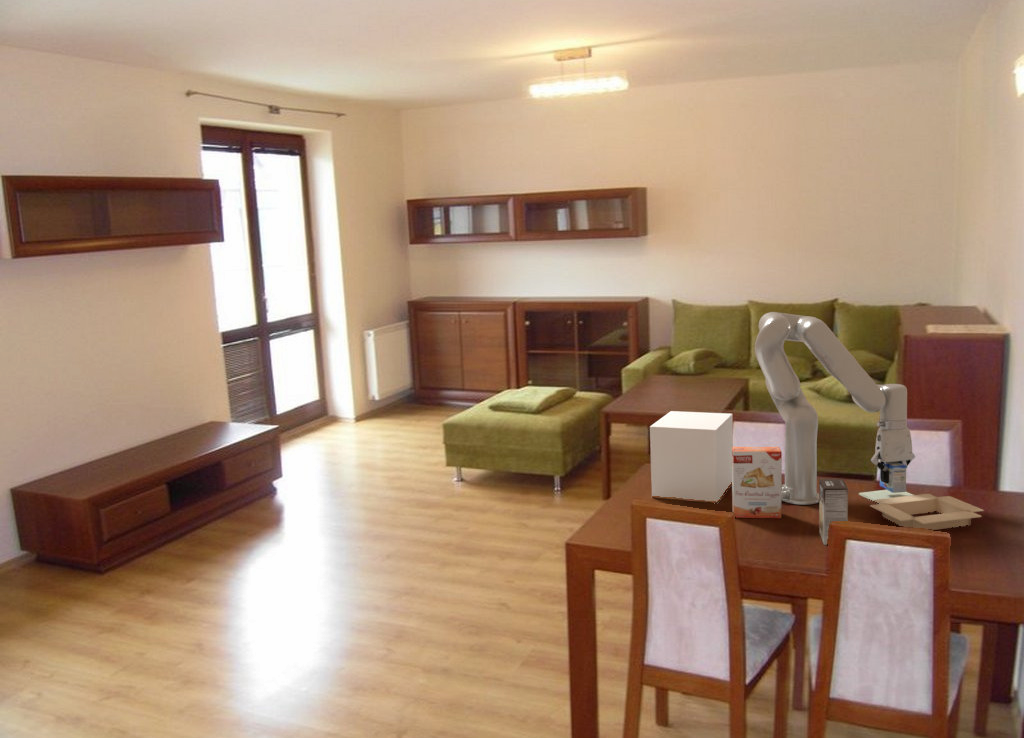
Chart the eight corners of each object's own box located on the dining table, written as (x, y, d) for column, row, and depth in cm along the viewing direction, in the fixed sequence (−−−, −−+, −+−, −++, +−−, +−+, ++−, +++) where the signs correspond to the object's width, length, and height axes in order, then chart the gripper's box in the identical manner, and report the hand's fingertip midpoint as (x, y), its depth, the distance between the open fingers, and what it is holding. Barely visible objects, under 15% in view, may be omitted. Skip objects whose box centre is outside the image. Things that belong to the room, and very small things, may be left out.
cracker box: (733, 518, 251) (732, 450, 248) (732, 512, 257) (731, 446, 254) (782, 519, 249) (781, 450, 246) (779, 512, 255) (779, 445, 251)
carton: (909, 538, 228) (909, 524, 227) (861, 514, 249) (861, 501, 249) (993, 528, 232) (994, 514, 232) (939, 504, 254) (940, 492, 253)
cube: (672, 478, 298) (670, 411, 294) (733, 483, 288) (732, 413, 285) (651, 499, 276) (649, 426, 272) (717, 505, 266) (715, 429, 263)
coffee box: (818, 533, 235) (818, 478, 233) (842, 534, 234) (842, 478, 232) (823, 545, 227) (823, 487, 224) (848, 545, 225) (849, 488, 223)
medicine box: (879, 486, 265) (879, 459, 264) (892, 484, 265) (893, 458, 264) (892, 493, 257) (892, 465, 256) (906, 492, 258) (906, 464, 256)
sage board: (885, 507, 254) (886, 505, 254) (858, 494, 267) (858, 492, 267) (927, 502, 256) (927, 500, 256) (898, 490, 270) (898, 488, 270)
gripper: (875, 429, 253) (875, 487, 256) (926, 424, 256) (925, 481, 259) (861, 424, 261) (860, 481, 263) (910, 419, 263) (909, 475, 266)
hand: (892, 480), depth 261 cm, fingers closed on medicine box, 4 cm apart
